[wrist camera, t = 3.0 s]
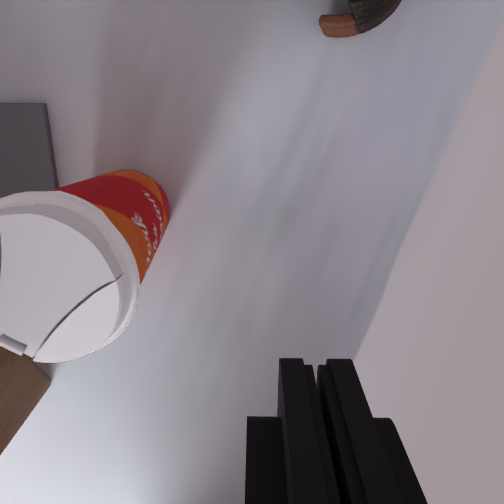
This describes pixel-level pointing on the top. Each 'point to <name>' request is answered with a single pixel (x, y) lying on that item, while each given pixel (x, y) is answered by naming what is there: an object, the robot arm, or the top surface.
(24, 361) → the decorative block
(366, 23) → the brown looped knot sculpture
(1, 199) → the paper cup
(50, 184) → the mat
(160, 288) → the top surface
